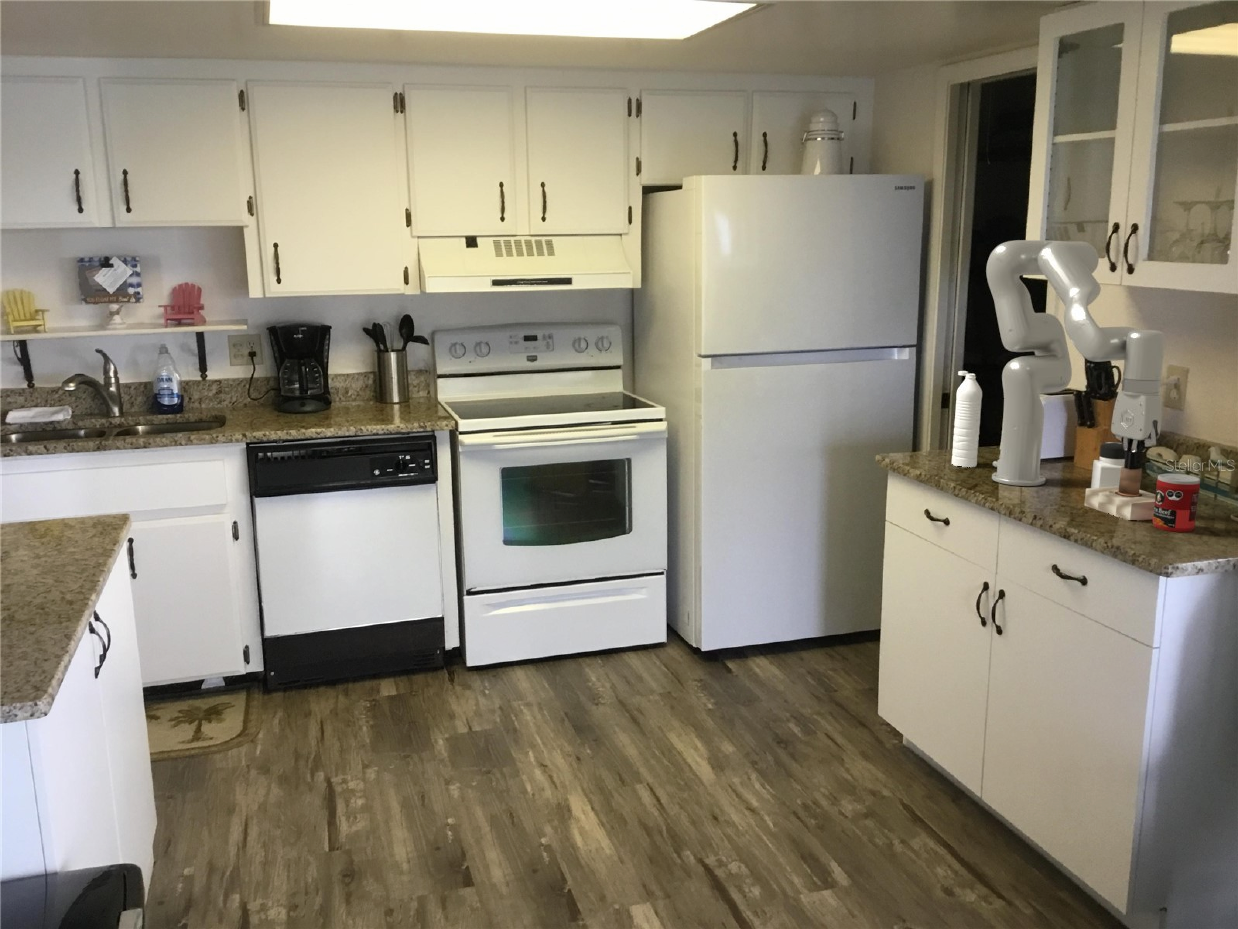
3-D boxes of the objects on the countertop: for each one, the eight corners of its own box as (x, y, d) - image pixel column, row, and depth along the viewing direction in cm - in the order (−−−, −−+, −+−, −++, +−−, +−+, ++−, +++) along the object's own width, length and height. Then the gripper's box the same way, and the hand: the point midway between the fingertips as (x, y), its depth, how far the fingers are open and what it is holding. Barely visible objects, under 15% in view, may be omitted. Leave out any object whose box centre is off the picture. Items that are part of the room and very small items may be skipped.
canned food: (1144, 523, 222) (1150, 473, 220) (1180, 522, 223) (1186, 472, 221) (1165, 533, 215) (1171, 481, 213) (1202, 532, 216) (1208, 481, 213)
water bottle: (981, 467, 276) (988, 374, 271) (958, 468, 275) (965, 375, 270) (965, 460, 284) (972, 370, 279) (943, 461, 283) (949, 371, 278)
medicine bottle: (1129, 496, 245) (1135, 447, 243) (1097, 494, 247) (1102, 445, 244) (1121, 489, 252) (1126, 441, 250) (1090, 487, 254) (1095, 440, 251)
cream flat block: (1084, 505, 237) (1086, 488, 236) (1123, 502, 240) (1125, 485, 239) (1129, 521, 224) (1131, 503, 223) (1170, 517, 227) (1172, 499, 226)
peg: (1110, 509, 233) (1115, 466, 231) (1127, 508, 235) (1132, 465, 232) (1125, 514, 229) (1130, 471, 227) (1142, 513, 230) (1147, 469, 228)
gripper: (1102, 383, 232) (1094, 462, 235) (1153, 392, 218) (1144, 476, 221) (1129, 381, 234) (1121, 460, 238) (1181, 390, 220) (1172, 474, 224)
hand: (1132, 468), depth 230 cm, fingers closed
